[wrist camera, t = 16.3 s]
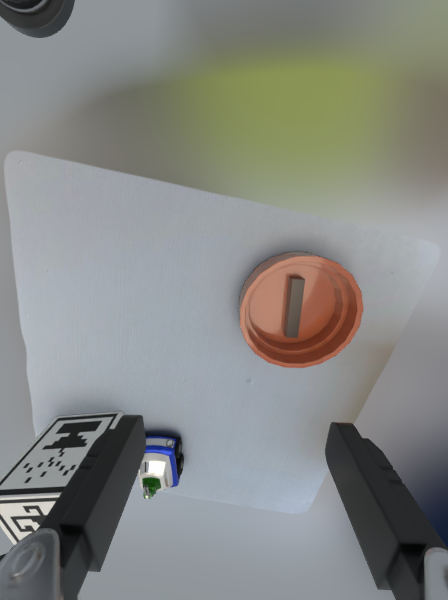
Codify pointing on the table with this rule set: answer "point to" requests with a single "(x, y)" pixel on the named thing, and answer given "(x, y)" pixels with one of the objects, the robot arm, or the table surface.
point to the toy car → (160, 464)
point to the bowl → (314, 314)
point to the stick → (293, 306)
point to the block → (47, 470)
